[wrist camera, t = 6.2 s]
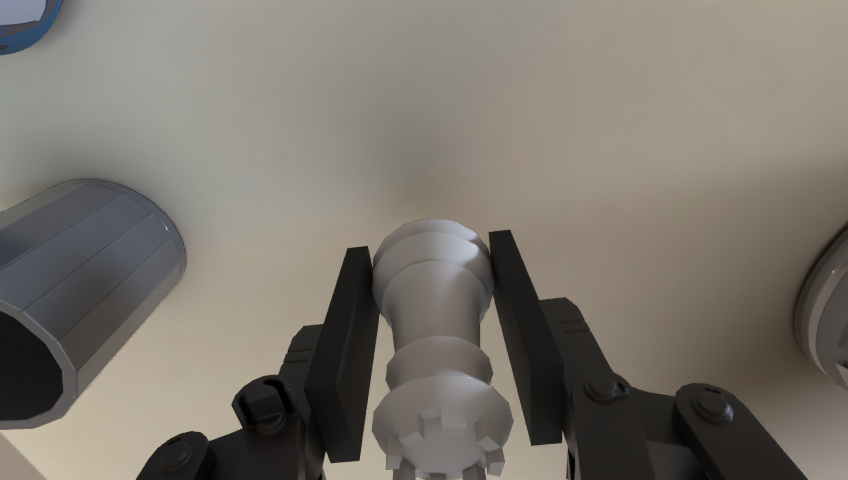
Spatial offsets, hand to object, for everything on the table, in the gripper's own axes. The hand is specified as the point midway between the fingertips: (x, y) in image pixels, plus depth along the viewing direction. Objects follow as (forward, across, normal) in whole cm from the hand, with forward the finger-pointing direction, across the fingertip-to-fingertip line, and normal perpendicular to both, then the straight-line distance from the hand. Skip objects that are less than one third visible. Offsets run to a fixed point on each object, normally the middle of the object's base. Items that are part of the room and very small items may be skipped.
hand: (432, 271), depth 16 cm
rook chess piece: (0, 0, 0) cm, 0 cm away
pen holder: (+5, -16, 0) cm, 17 cm away
